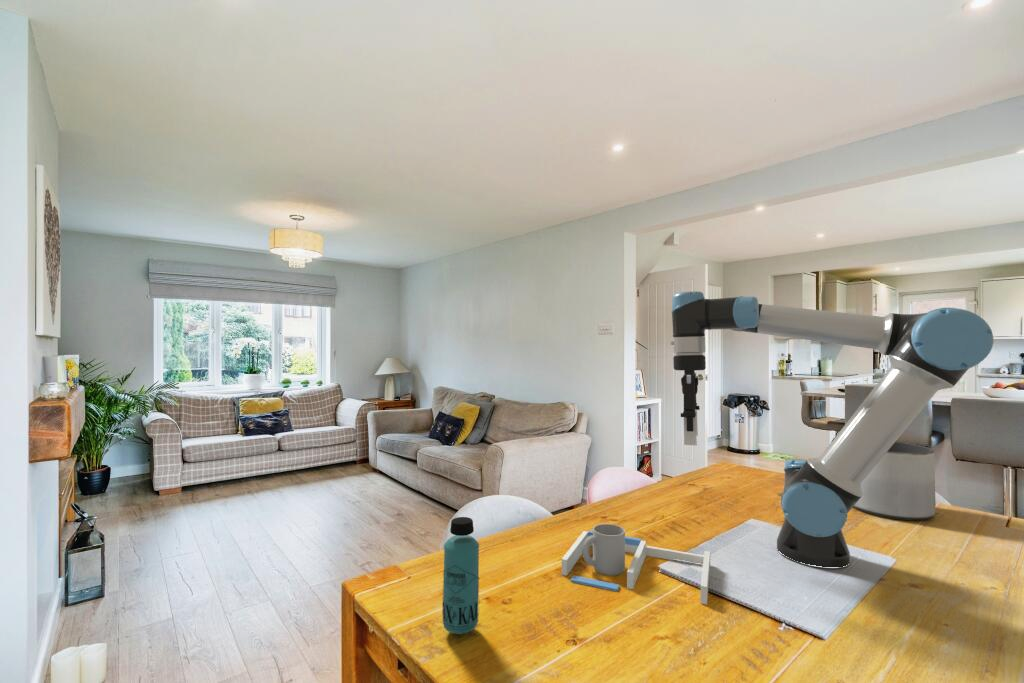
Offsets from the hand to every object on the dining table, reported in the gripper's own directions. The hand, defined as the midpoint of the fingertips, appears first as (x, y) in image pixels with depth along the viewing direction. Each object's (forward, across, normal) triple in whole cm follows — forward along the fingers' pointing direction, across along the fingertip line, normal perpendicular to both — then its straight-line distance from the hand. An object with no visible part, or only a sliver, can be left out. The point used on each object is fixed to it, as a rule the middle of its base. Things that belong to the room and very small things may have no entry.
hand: (691, 440), depth 120 cm
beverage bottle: (+27, +52, -38) cm, 69 cm away
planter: (+29, -57, +56) cm, 85 cm away
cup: (+27, +18, -19) cm, 38 cm away
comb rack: (+27, +16, -12) cm, 34 cm away
